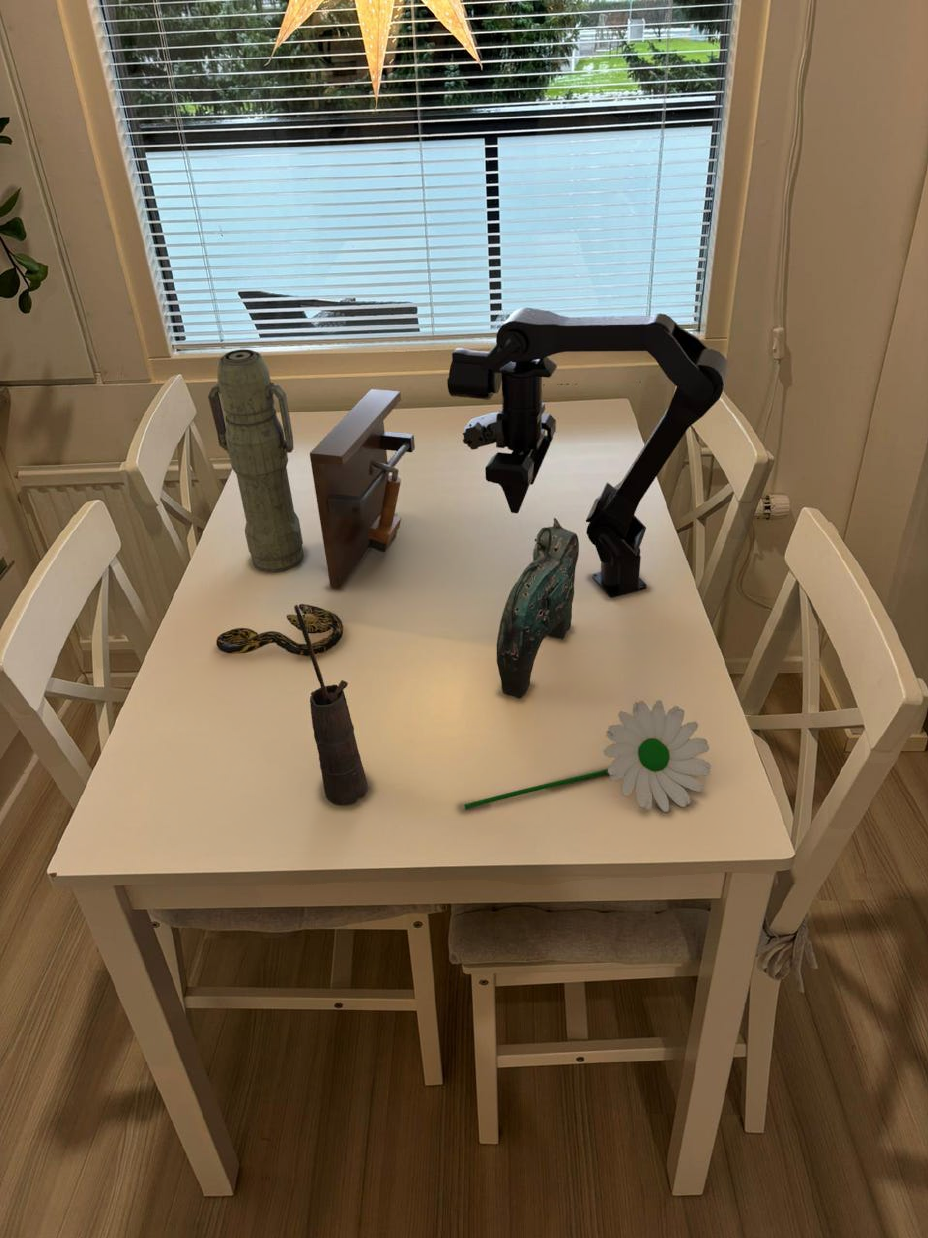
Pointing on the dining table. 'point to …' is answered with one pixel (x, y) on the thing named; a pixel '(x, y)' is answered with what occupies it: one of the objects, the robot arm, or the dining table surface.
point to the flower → (646, 758)
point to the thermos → (258, 457)
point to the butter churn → (335, 737)
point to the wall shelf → (354, 479)
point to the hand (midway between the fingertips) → (522, 497)
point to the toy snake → (314, 621)
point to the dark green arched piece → (537, 607)
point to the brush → (385, 511)
